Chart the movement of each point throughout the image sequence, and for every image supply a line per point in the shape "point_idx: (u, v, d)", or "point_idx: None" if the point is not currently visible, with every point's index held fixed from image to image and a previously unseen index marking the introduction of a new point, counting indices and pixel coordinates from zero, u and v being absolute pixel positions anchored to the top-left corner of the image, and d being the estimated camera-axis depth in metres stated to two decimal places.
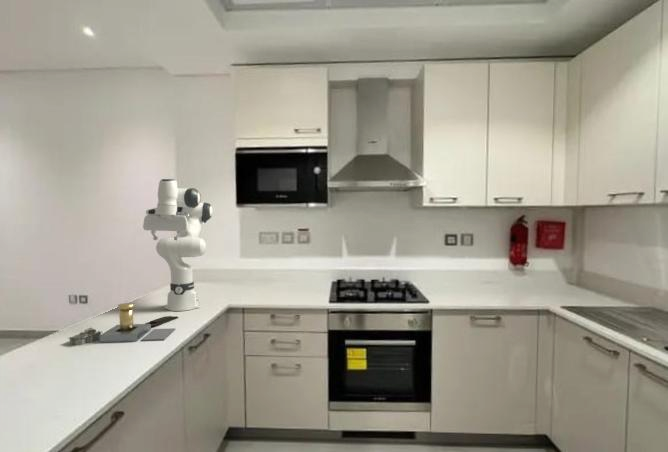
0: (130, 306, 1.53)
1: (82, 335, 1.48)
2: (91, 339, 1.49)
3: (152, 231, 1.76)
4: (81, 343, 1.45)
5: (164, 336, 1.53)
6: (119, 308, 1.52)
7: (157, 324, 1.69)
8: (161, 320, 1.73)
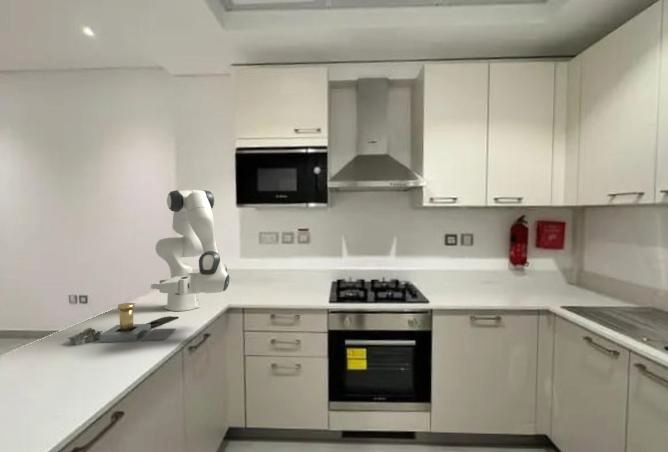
0: (130, 306, 1.53)
1: (82, 335, 1.48)
2: (91, 339, 1.49)
3: None
4: (81, 343, 1.45)
5: (164, 336, 1.53)
6: (119, 308, 1.52)
7: (158, 324, 1.69)
8: (162, 320, 1.73)
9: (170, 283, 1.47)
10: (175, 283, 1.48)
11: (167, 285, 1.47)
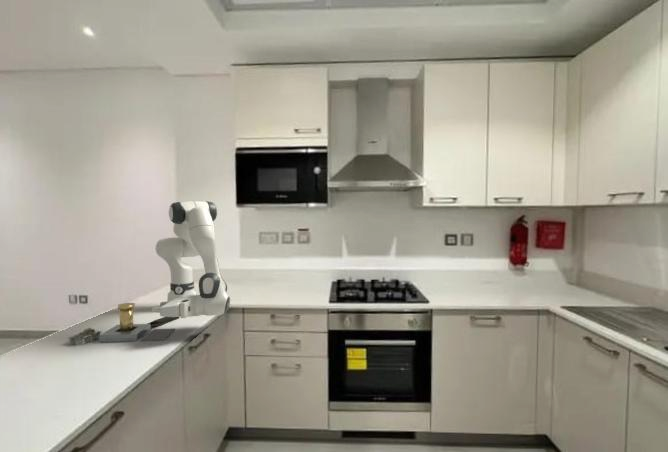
0: (130, 306, 1.53)
1: (82, 335, 1.48)
2: (91, 339, 1.49)
3: None
4: (81, 343, 1.45)
5: (164, 336, 1.53)
6: (119, 308, 1.52)
7: (159, 324, 1.69)
8: (163, 320, 1.73)
9: (171, 307, 1.47)
10: (176, 307, 1.48)
11: (168, 309, 1.47)
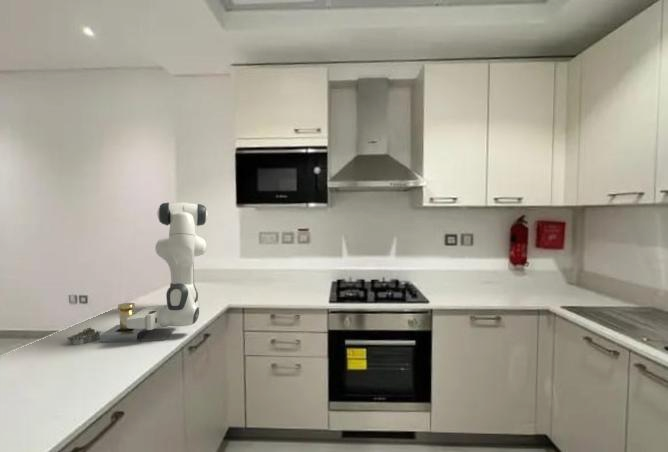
0: (130, 306, 1.53)
1: (81, 335, 1.48)
2: (90, 339, 1.49)
3: None
4: (79, 343, 1.45)
5: (164, 336, 1.53)
6: (119, 308, 1.52)
7: None
8: None
9: (137, 318, 1.46)
10: (142, 318, 1.47)
11: (134, 320, 1.46)
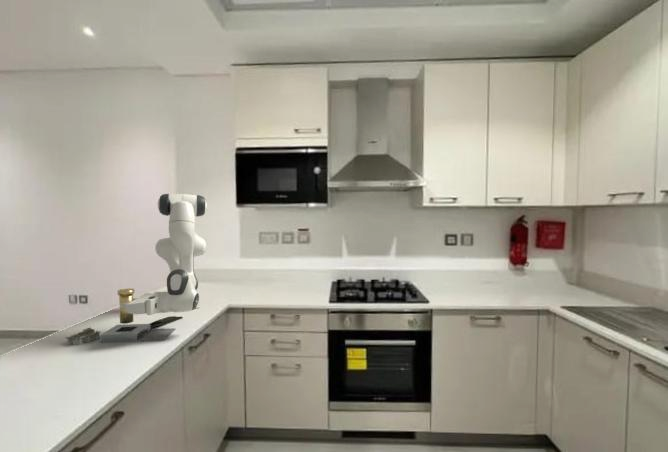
0: (130, 292, 1.53)
1: (80, 335, 1.48)
2: (89, 339, 1.49)
3: None
4: (78, 343, 1.45)
5: (164, 336, 1.53)
6: (119, 293, 1.52)
7: (161, 324, 1.69)
8: (165, 320, 1.73)
9: (136, 304, 1.46)
10: (142, 303, 1.47)
11: (134, 306, 1.46)
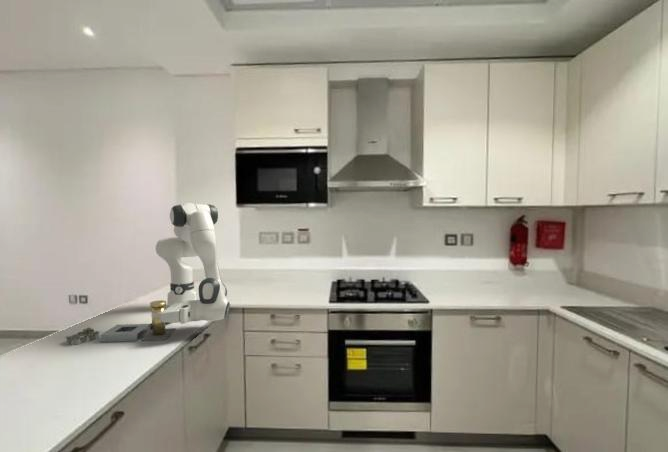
0: (162, 304, 1.54)
1: (79, 335, 1.48)
2: (87, 339, 1.48)
3: None
4: (77, 343, 1.45)
5: (164, 336, 1.53)
6: (152, 306, 1.53)
7: None
8: None
9: (171, 312, 1.47)
10: (176, 312, 1.48)
11: (168, 314, 1.47)
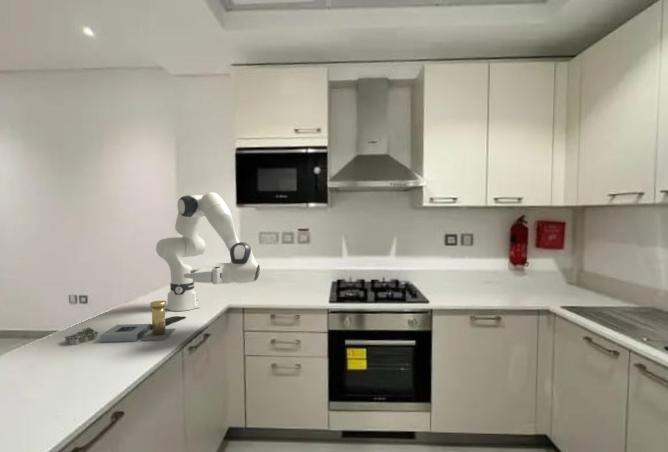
0: (162, 304, 1.54)
1: (77, 335, 1.48)
2: (86, 339, 1.48)
3: None
4: (75, 343, 1.45)
5: (164, 336, 1.53)
6: (152, 306, 1.53)
7: (165, 324, 1.69)
8: (169, 320, 1.73)
9: (204, 272, 1.48)
10: (208, 272, 1.49)
11: (201, 274, 1.48)
